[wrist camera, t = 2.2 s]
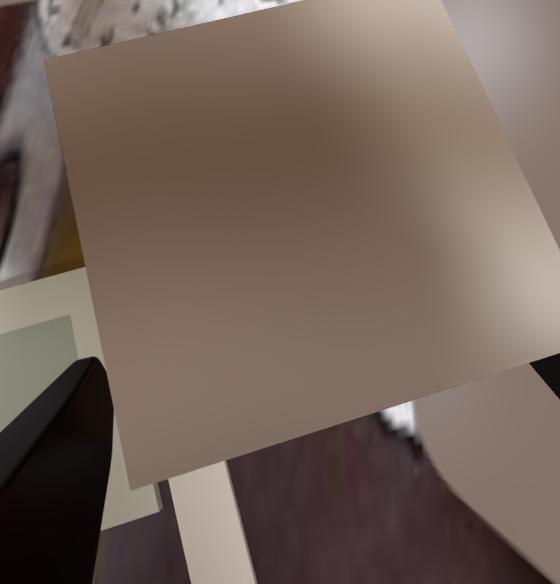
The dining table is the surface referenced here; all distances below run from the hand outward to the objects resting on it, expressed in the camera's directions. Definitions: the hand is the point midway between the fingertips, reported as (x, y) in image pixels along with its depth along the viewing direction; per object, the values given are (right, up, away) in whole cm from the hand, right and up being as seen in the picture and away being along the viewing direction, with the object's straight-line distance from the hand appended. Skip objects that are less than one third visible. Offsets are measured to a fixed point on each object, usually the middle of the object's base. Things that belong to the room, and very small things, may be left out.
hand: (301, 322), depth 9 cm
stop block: (0, -1, +9) cm, 9 cm away
